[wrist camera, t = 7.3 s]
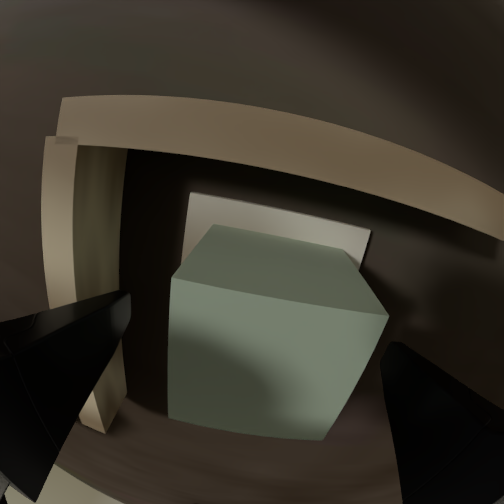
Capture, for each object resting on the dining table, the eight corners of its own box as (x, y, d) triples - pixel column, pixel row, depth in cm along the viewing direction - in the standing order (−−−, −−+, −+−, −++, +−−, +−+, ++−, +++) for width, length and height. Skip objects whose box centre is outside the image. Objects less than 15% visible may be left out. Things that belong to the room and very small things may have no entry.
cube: (342, 248, 11) (389, 315, 6) (308, 351, 12) (322, 440, 8) (213, 223, 11) (171, 277, 6) (199, 332, 12) (168, 417, 8)
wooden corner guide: (364, 430, 15) (374, 472, 11) (105, 384, 15) (82, 423, 11) (474, 191, 10) (525, 207, 7) (104, 108, 10) (51, 98, 6)
